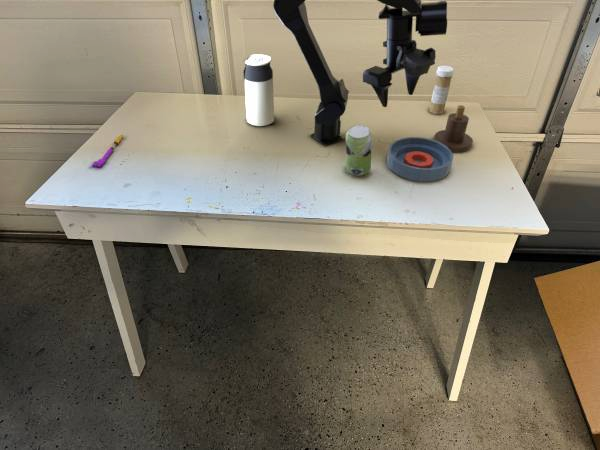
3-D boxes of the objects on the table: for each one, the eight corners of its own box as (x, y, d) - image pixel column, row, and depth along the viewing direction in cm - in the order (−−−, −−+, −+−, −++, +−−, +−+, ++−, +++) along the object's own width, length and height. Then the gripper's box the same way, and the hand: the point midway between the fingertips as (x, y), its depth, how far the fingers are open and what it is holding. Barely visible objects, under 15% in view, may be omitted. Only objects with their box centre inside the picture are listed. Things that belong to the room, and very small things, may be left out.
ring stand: (453, 156, 116) (463, 119, 109) (425, 140, 122) (433, 104, 116) (479, 145, 120) (490, 109, 114) (450, 131, 127) (459, 95, 120)
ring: (400, 166, 111) (401, 161, 110) (409, 154, 116) (410, 148, 115) (427, 173, 109) (428, 168, 108) (435, 161, 113) (436, 155, 112)
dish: (417, 190, 104) (420, 176, 102) (373, 160, 114) (375, 147, 112) (463, 170, 111) (466, 157, 108) (417, 144, 121) (420, 131, 118)
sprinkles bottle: (435, 107, 139) (444, 63, 130) (447, 112, 136) (457, 68, 127) (425, 111, 136) (434, 67, 128) (437, 116, 134) (447, 72, 125)
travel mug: (249, 128, 127) (244, 65, 116) (245, 116, 133) (240, 55, 122) (276, 125, 129) (274, 62, 117) (271, 113, 135) (269, 52, 123)
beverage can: (373, 167, 112) (378, 124, 104) (363, 183, 106) (369, 138, 99) (349, 162, 114) (353, 118, 106) (339, 176, 108) (342, 132, 101)
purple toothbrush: (101, 167, 110) (125, 137, 123) (99, 163, 110) (123, 133, 122) (92, 169, 111) (116, 138, 123) (89, 165, 110) (114, 134, 122)
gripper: (396, 55, 94) (395, 123, 104) (454, 31, 102) (448, 96, 111) (360, 45, 101) (362, 109, 111) (416, 24, 109) (414, 85, 119)
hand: (397, 100), depth 113 cm, fingers open, 9 cm apart
